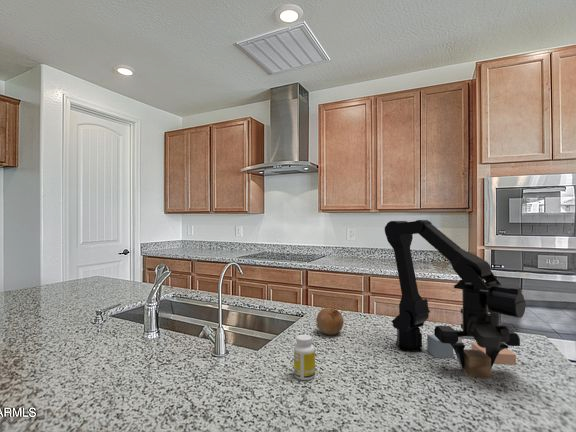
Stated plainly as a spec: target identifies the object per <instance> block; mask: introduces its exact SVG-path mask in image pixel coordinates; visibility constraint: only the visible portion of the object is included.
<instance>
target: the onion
mask: <svg viewBox="0 0 576 432" xmlns="http://www.w3.org/2000/svg"><path fill="white" fill-rule="evenodd" d="M316 316H317V317H316V320H315V321H316V328H317V329H319V330H320V332H322V333H323V334H324V335H328V336H333V335H337V334H339V333H340V332H341V331H342V329H343V327H344V322H345V321H344V318H343V315H342V312H340V311H339V310H338V309H336V308H334V307H324V308H322V309H321V310H319V312H318V314H317V315H316Z"/></svg>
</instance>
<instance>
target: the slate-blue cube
mask: <svg viewBox="0 0 576 432" xmlns="http://www.w3.org/2000/svg"><path fill="white" fill-rule="evenodd" d="M426 340H427V341H426V342H427V343H426V344H427V346H426V347H427V348H426V350H427V352H428V353H429V354H431V355H432V356H434V357H435V358H436V359H444V358H445V359H446V358H454V348H453V347H452V345H451V344H447V343H441V342H440V341H439V339H438V338H437V337H436V336H435V335H434V333H433V334H432V333H431V334H427V336H426Z"/></svg>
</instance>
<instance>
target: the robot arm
mask: <svg viewBox="0 0 576 432" xmlns="http://www.w3.org/2000/svg"><path fill="white" fill-rule="evenodd" d="M384 234H385V236H386V240H387V242H388V244H389V245H390V247H391V248H392V250H393V252H394V257H395V264H396V265H395V266H396V270H397V275H398V280H399V287H400V292H401V298H400V300H399V303H398V310H399V311H398V315H397V316H395V317H394V318H393V319H392V320H391V323H392V325H393V326H392V327H393V329H396V341H395V344H396V346H397V347H398V349H399V351H403V352H405V351H406V352H407V351H408V352H423V349H422V347H423V334H422V332H421V327H423V326H424V325H425V322H427V320H428V319H429V316H430V313H431V311H430V308H429V301H428V299H427V298H423V297H421V295H420V293H419V289H418V284H417V278H416V274H415V268H414V261H413V256H412V253H411V252H412V250H411V245H412V242H413V239H414V238H413V235H417V234H418V235H419V236H421V237H422V238H423V239H424V240H425V241H426V242H427V243H428V244H430V245H431V246H432V247H433V248H434V249H435V250H437V252H438V253H440V254H441V255H442V256H444V258H446V259H447V260H448V262H449V263H450V264H451V267H452V269H453V270H454V272H455V273H456V274H457V275H458V276H459V278H460V279H459V281H458V282H457V283H456V284H454V285H453V288H454V289H459V290H461V291H462V298H461V299H462V308H460V313H461V314H462V323H460V329H462V330H455V328H453V327H452V326H451V325H436V326H435V327H434V329H433V330H434V333H433V334H434V335H435V336H436V337H437V338H438V339H439V341H440V342H441V343H447V344H451V345H452V347H453V352H454V353H455V356H456V357H457V361H458V362H459V365H460V367H461V369H462V368H463V369H464V366H465V361H464V349H466V348H465V347H466V345H465V344H464V343H463V339H464V340H465V339H467V340H475V341H476V343H477V344H478V345H479V346H480V347H482V348H486V355H488V356H489V357H490V358H491V369H492V368H493V366H494V362H495V359H496V357H497V355H498V354H499V352H500V351H501V350H503V349H509V347H511V346H512V347H520V346H521V338H520V336H519V334H518V333H516V332H514V331H513V330H512V329H510V328H508V326H506V325H500V326H496V325H493V324H492V321H491V315H489V314H488V309H491V311H492V312H494V313H499V314H500V315H505V316H509V317H514V318H517V319H521V318H523V317H524V315H525V312H526V306H527V304H526V300H525V297H524V295H523V293H522V288H521V287H514V286H513V287H510V286H509V287H508V286H504V285H503V286H502V283H501V282H500V281H499V280H498V278H497V277H496V276H495V274H494V273H493V272H492V266H491V265H490V263H489V262H488V261H487V260H485V259H483V258H481V257H479V256H478V255H476V254H474V253H471V252H469V251H466V250H465V249H463V248H461V247H460V245H458V244H457V243H455V242H454V241H453V240H452V239H450V237H449V236H447V235H446V234H444V233H443V231H441V230H439V229H438V228H437V227H436V226H435V225H433V223H432V222H431V221H430V220H428V219H418V220H414V221H407V220H390V221H388V222H387V224H386V225H385V226H384ZM463 369H462V370H463Z"/></svg>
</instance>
